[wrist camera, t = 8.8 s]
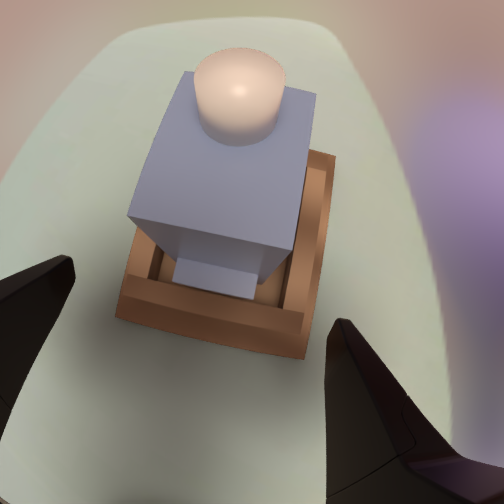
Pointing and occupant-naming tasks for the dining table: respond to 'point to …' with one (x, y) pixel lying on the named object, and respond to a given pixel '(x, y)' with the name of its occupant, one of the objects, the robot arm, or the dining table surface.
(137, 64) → the dining table surface
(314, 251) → the wooden socket base
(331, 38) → the dining table surface
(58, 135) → the dining table surface
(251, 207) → the block
